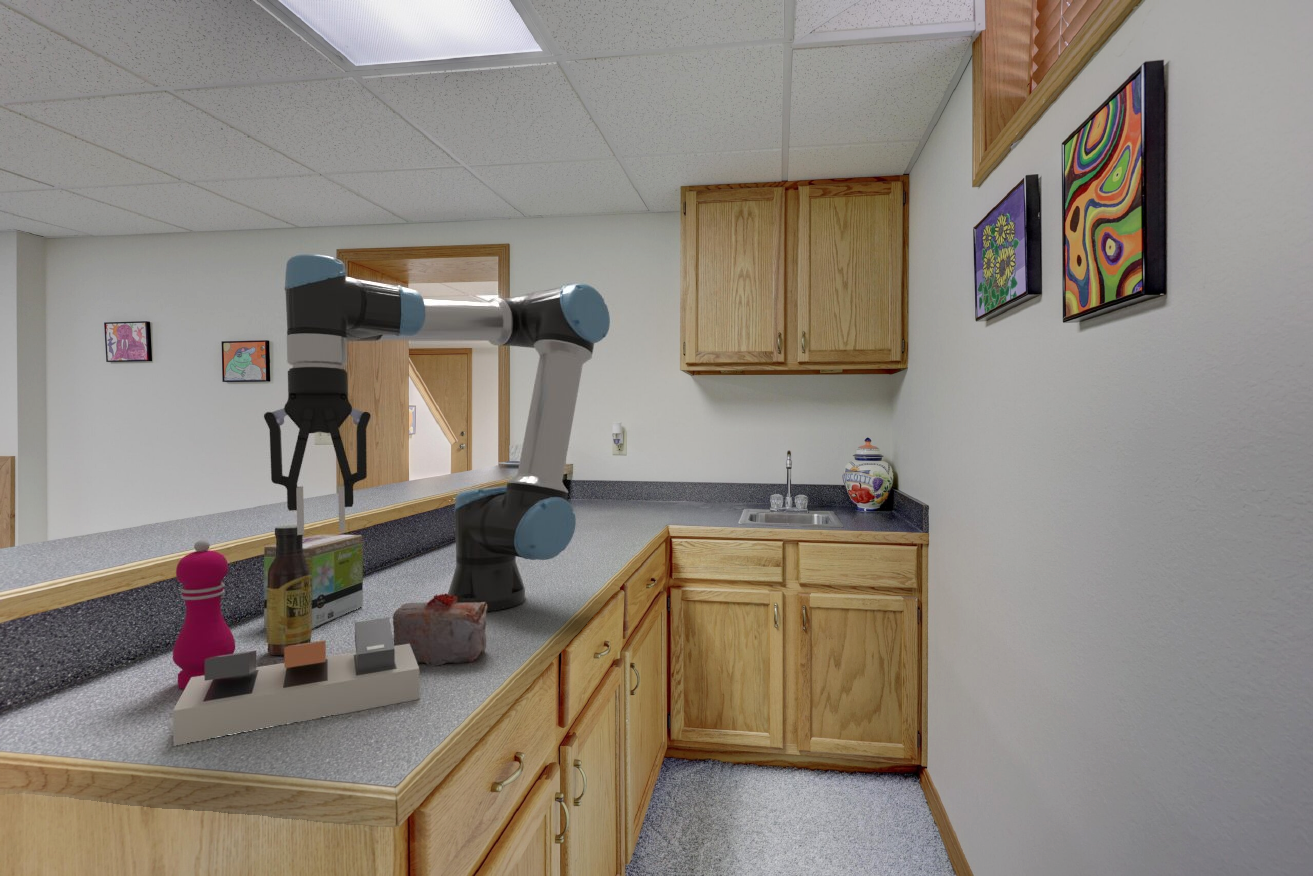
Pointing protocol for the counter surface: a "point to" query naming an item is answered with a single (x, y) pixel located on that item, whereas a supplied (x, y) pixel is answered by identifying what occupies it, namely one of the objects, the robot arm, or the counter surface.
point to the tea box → (328, 574)
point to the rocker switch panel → (291, 695)
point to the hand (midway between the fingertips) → (321, 531)
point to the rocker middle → (305, 654)
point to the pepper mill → (201, 612)
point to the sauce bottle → (288, 593)
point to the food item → (442, 629)
